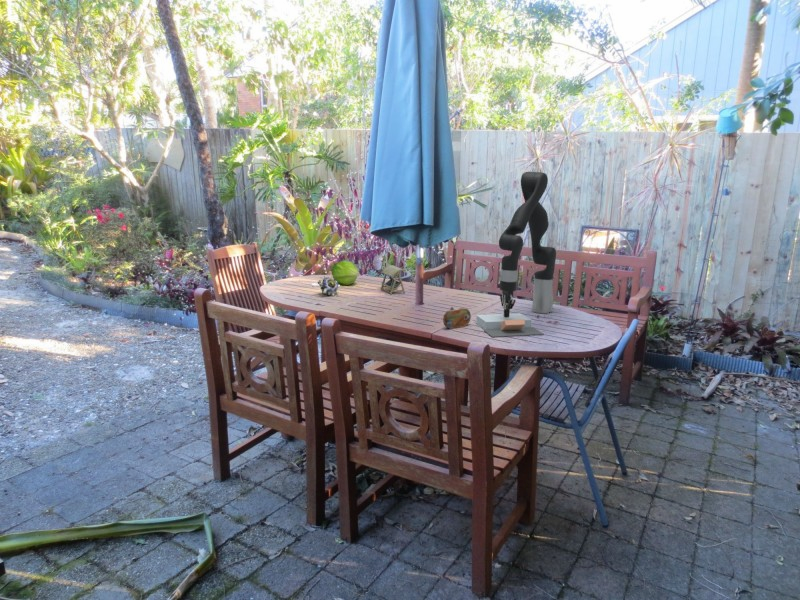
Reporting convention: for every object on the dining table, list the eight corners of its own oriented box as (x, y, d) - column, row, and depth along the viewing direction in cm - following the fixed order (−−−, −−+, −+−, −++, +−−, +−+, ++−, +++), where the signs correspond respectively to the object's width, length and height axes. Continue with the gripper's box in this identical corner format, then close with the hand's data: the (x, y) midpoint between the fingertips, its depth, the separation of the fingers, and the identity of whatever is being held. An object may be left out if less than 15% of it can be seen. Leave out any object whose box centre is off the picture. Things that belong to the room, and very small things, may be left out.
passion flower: (332, 306, 305) (326, 290, 295) (316, 299, 311) (309, 283, 301) (346, 291, 311) (340, 275, 301) (329, 284, 317) (323, 268, 307)
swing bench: (380, 289, 321) (380, 265, 318) (394, 288, 325) (394, 264, 322) (390, 295, 308) (391, 269, 305) (405, 293, 312) (406, 268, 309)
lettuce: (368, 283, 334) (349, 290, 324) (344, 277, 350) (325, 284, 339) (365, 260, 330) (346, 266, 319) (341, 256, 345) (322, 262, 335)
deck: (519, 321, 257) (520, 313, 256) (530, 328, 246) (531, 319, 245) (476, 323, 253) (476, 315, 252) (485, 330, 241) (485, 322, 240)
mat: (533, 328, 245) (533, 327, 245) (543, 334, 236) (543, 333, 236) (483, 331, 240) (483, 329, 240) (492, 337, 231) (492, 336, 231)
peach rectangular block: (524, 319, 237) (525, 324, 236) (519, 324, 243) (520, 329, 241) (504, 319, 235) (506, 325, 234) (500, 325, 241) (501, 330, 240)
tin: (446, 330, 241) (446, 312, 239) (441, 328, 243) (442, 310, 241) (470, 325, 250) (471, 307, 248) (466, 323, 252) (466, 306, 250)
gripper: (522, 282, 235) (520, 320, 239) (510, 276, 248) (508, 313, 252) (506, 282, 234) (504, 321, 238) (495, 277, 246) (493, 313, 250)
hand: (506, 317), depth 245 cm, fingers closed
